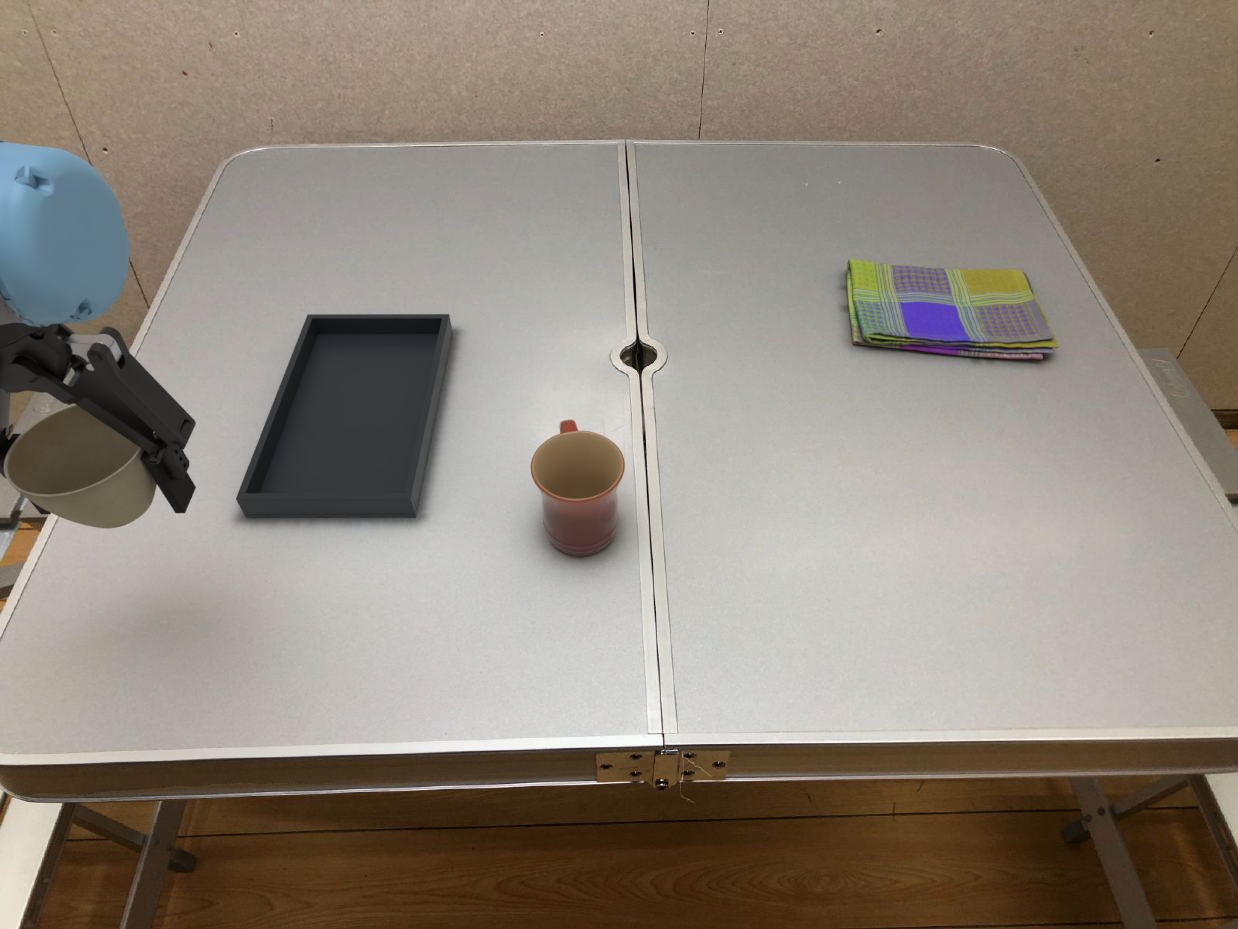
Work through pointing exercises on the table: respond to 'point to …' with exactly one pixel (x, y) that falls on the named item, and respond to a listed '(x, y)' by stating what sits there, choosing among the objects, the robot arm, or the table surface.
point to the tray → (351, 419)
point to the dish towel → (947, 311)
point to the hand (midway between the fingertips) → (119, 500)
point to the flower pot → (80, 470)
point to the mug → (578, 488)
